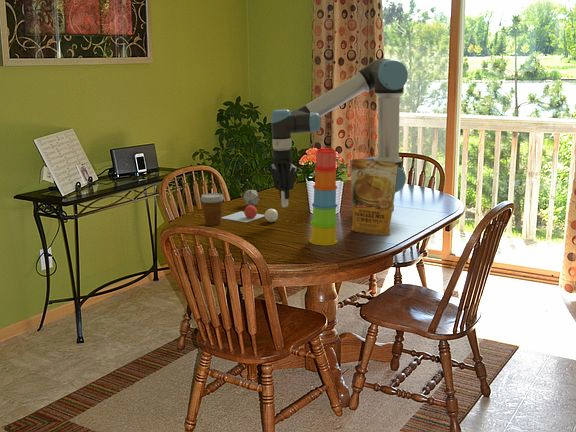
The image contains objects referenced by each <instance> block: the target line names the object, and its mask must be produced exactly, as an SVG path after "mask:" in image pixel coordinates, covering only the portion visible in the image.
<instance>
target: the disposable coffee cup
mask: <svg viewBox="0 0 576 432" xmlns="http://www.w3.org/2000/svg"><path fill="white" fill-rule="evenodd" d="M224 199H225V198H224V196H223V194H222V193H218V192H216V193H215V192H214V193H209V192H208V193H204V194H203V193H202V194H201V197H200V202H201V205H202V210H203V216H204V217H203V218H204V224H205V225H206V226H208V225H211V226H210V227H212V225H216V226H220V225H222V218H221V217H223V216H222V215H223V206H224V205H223V204H224Z"/></svg>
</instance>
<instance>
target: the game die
mask: <svg viewBox="0 0 576 432" xmlns="http://www.w3.org/2000/svg"><path fill="white" fill-rule="evenodd" d="M241 198H242V199H243V201H244V203H245V205H244V208H246V207H247V206H249V205H252V206H254V207H256V208H257V207H258V205H257V204H258V202H259V201H260V200H262V197H260V196H259V193H258V188H256V189H247V188H245V192H244V194H243V195H242V196H241Z"/></svg>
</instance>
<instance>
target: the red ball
mask: <svg viewBox="0 0 576 432" xmlns="http://www.w3.org/2000/svg"><path fill="white" fill-rule="evenodd" d="M243 212H244V214H245V216H246V217H247V218H254V217H255V216H256V215H257V214H258V209H257V207H256V206H252V205H249V206H246V207H244V211H243Z"/></svg>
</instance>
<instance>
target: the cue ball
mask: <svg viewBox="0 0 576 432" xmlns="http://www.w3.org/2000/svg"><path fill="white" fill-rule="evenodd" d="M264 215H265V216H264V218H265V220H266V221H267V222H269V223H274V222H276V221H277V220H278V217H279V213H278V211H277V210H276V209H275V208H269V209H267V210H266V211H265V212H264Z"/></svg>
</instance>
